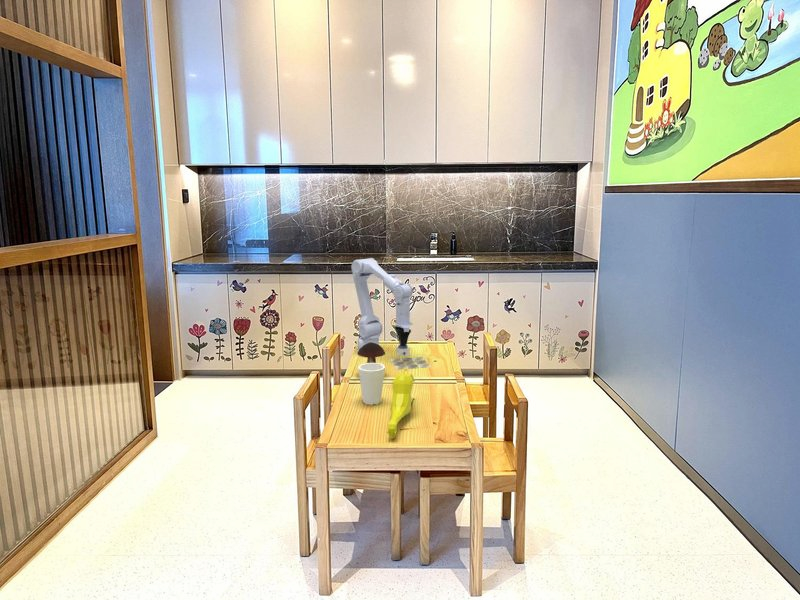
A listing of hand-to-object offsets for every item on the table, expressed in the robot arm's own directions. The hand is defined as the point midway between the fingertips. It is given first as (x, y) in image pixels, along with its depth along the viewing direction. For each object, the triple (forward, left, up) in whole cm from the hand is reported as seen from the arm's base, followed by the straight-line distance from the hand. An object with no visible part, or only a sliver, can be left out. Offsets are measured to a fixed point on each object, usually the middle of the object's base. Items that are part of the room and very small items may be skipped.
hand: (402, 344), depth 240 cm
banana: (-13, -53, -10) cm, 56 cm away
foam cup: (-20, -37, -10) cm, 43 cm away
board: (+3, 0, -10) cm, 10 cm away
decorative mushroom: (-16, -13, -10) cm, 23 cm away
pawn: (0, 0, -1) cm, 1 cm away
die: (+3, +13, -10) cm, 17 cm away
